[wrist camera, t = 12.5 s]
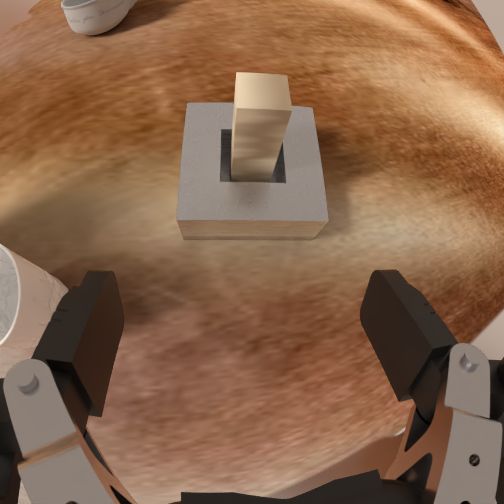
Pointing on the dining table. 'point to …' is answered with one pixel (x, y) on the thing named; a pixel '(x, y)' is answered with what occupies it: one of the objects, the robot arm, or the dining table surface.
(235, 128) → the square wooden peg
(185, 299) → the dining table surface
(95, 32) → the teacup
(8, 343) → the white cup
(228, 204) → the grey square socket block
